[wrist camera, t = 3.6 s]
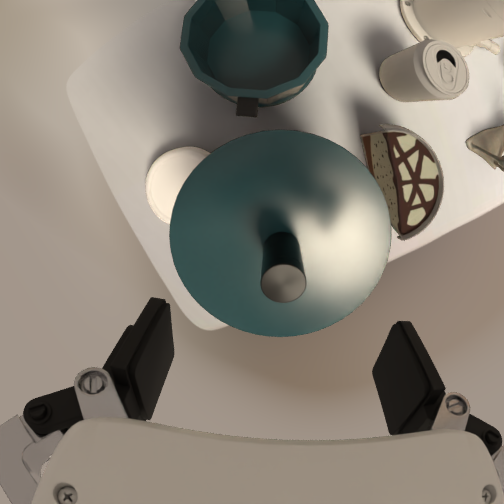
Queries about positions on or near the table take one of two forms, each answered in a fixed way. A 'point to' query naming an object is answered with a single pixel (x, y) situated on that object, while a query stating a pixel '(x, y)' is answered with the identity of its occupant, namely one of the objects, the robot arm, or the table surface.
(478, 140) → the figurine
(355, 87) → the table surface
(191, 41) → the pot
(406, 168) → the food container
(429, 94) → the beverage can
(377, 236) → the lid
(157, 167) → the white short cylinder
